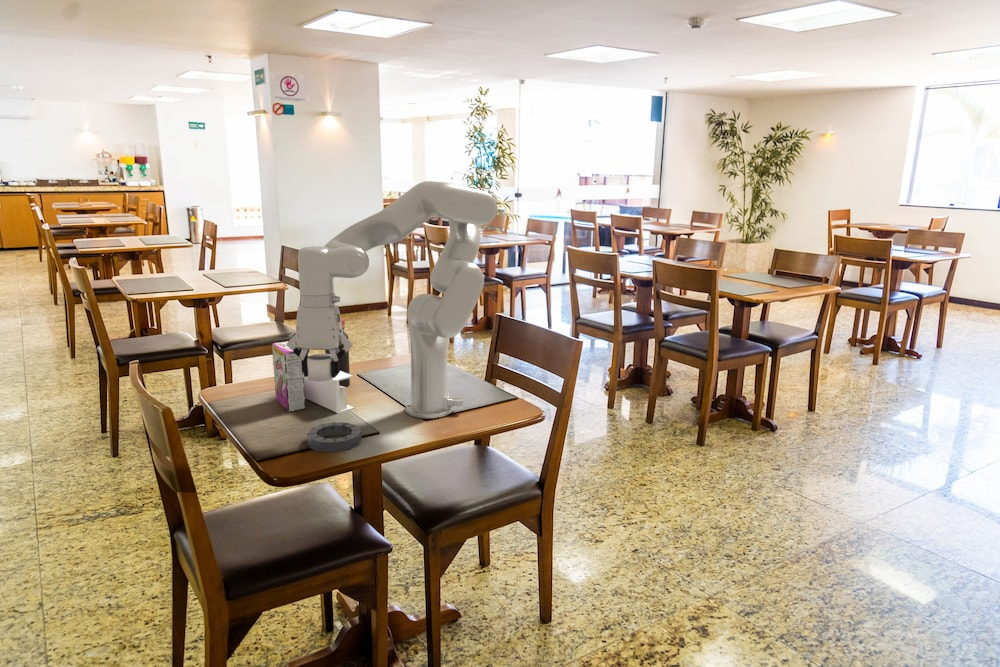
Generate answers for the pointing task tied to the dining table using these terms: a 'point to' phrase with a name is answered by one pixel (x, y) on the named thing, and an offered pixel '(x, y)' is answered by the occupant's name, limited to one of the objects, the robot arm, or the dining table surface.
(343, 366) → the bottle
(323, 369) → the white short cylinder
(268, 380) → the dining table surface
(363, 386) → the dining table surface
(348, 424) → the gray notched ring
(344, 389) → the long white box
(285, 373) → the candy bar box
